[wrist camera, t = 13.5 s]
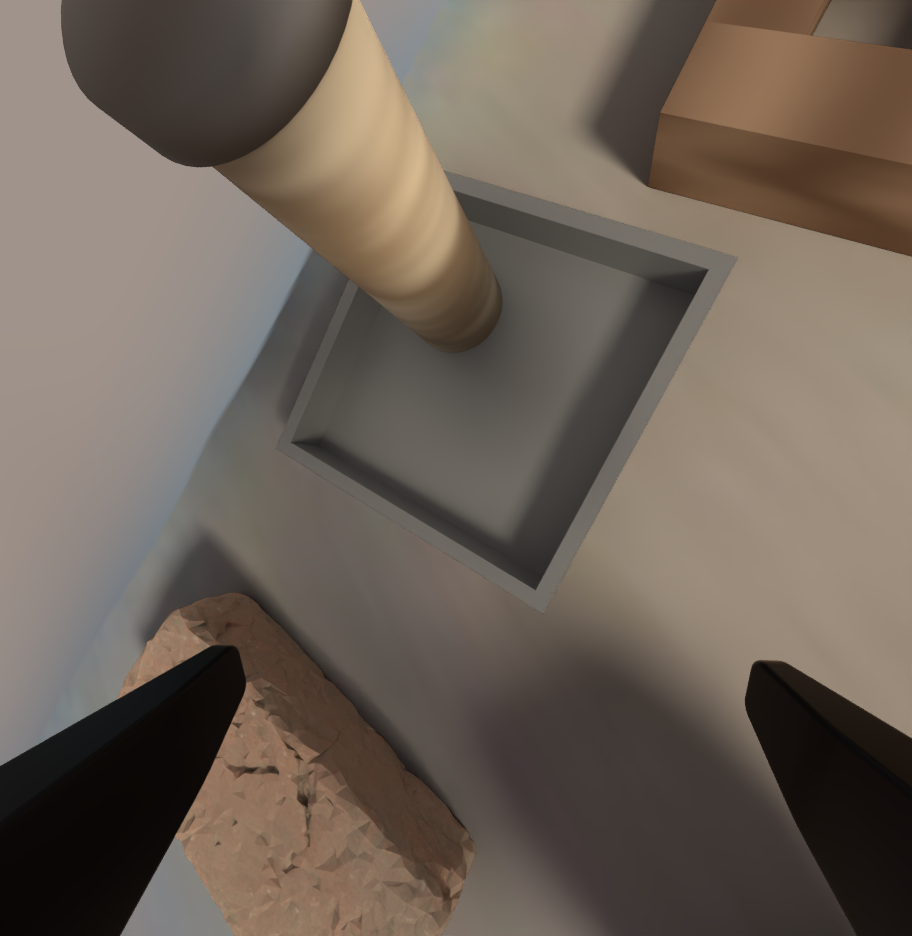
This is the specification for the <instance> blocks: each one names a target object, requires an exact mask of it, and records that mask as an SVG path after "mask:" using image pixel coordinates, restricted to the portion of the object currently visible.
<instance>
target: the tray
mask: <svg viewBox="0 0 912 936" xmlns="http://www.w3.org/2000/svg"><path fill="white" fill-rule="evenodd" d="M443 171H444V170H443ZM444 173H445V175H446V177H447V179H448V181H449V183H450V185H451V187H452V189H453V191H454V193H455V195H456V197H457V199H458V201H459V203H460V205H461V207H462V209H463V211H464V213H465V215H466V217H467V219H468V221H469V223H470V225H471V227H472V230H473V232H474V234H475V236H476V238H477V240H478V242H479V244H480V246H481V248H482V250H483V252H484V254H485V256H486V258H487V260H488V262H489V264H490V266H491V268H492V270H493V272H494V274H495V276H496V278H497V280H498V282H499V285H500V287H501V292H502V300H503V301H502V310H501V314H500V318H499V320H498V322H497V325H496V326H495V328H494V330H493V331H492V332H491V334H490V335H489V336H488V337H487V338H486V339H485V340H484V341H483V342H481V343H480V344H479V345H477V346H475V347H474V348H471V349H469V350H466V351H463V352H455V353H450V352H444V351H440V350H438V349H436V348H434V347H432V346H431V345H429V344H428V343H427V342H426V341H425V340H423V339H422V338H421V337H420V336H418V335H417V334H416V333H415V332H414V331H412V330H411V329H410V328H409V327H407V326H406V325H405V324H404V323H403V322H401V321H400V320H399V319H398V318H397V317H395V316H394V315H393V314H392V313H390V312H389V311H388V310H387V309H386V308H384V307H383V306H382V305H381V304H379V303H378V302H377V301H376V300H375V299H373V298H372V297H371V296H370V295H368V294H367V293H366V292H365V291H364V290H362V289H361V288H360V287H359V286H357V285H356V284H355V283H354V282H353V281H351V280H350V279H349V280H348V282H347V285H346V287H345V289H344V291H343V294H342V296H341V298H340V301H339V303H338V305H337V308H336V310H335V312H334V315H333V317H332V319H331V321H330V324H329V326H328V328H327V331H326V333H325V335H324V338H323V340H322V342H321V345H320V347H319V349H318V352H317V354H316V356H315V358H314V361H313V363H312V365H311V368H310V370H309V372H308V375H307V377H306V379H305V382H304V384H303V386H302V389H301V391H300V393H299V395H298V398H297V400H296V402H295V405H294V407H293V409H292V412H291V414H290V416H289V419H288V421H287V423H286V426H285V428H284V430H283V432H282V435H281V437H280V439H279V442H278V444H277V446H276V449H277V450H279V451H280V452H282V453H283V454H285V455H287V456H288V457H290V458H292V459H293V460H295V461H296V462H298V463H300V464H301V465H303V466H304V467H306V468H308V469H309V470H311V471H313V472H314V473H316V474H317V475H319V476H321V477H322V478H324V479H325V480H327V481H329V482H330V483H332V484H334V485H335V486H337V487H338V488H340V489H342V490H343V491H345V492H346V493H348V494H350V495H351V496H353V497H355V498H356V499H358V500H359V501H361V502H363V503H364V504H366V505H367V506H369V507H371V508H372V509H374V510H376V511H377V512H379V513H380V514H382V515H384V516H385V517H387V518H388V519H390V520H392V521H393V522H395V523H397V524H398V525H400V526H401V527H403V528H405V529H406V530H408V531H409V532H411V533H413V534H414V535H416V536H418V537H419V538H421V539H422V540H424V541H426V542H427V543H429V544H431V545H432V546H434V547H435V548H437V549H439V550H440V551H442V552H443V553H445V554H447V555H448V556H450V557H452V558H453V559H455V560H456V561H458V562H460V563H461V564H463V565H464V566H466V567H468V568H469V569H471V570H473V571H474V572H476V573H477V574H479V575H481V576H482V577H484V578H485V579H487V580H489V581H490V582H492V583H494V584H495V585H497V586H498V587H500V588H502V589H503V590H505V591H506V592H508V593H510V594H511V595H513V596H515V597H516V598H518V599H519V600H521V601H523V602H524V603H526V604H527V605H529V606H531V607H532V608H534V609H536V610H537V611H539V612H540V613H542V614H543V613H544V611H545V610H546V608H547V606H548V604H549V602H550V600H551V599H552V597H553V595H554V593H555V591H556V590H557V588H558V586H559V584H560V582H561V580H562V579H563V577H564V575H565V573H566V571H567V569H568V568H569V566H570V564H571V562H572V560H573V558H574V557H575V555H576V553H577V551H578V549H579V547H580V546H581V544H582V542H583V540H584V538H585V536H586V535H587V533H588V531H589V529H590V527H591V526H592V524H593V522H594V520H595V518H596V516H597V515H598V513H599V511H600V509H601V507H602V505H603V504H604V502H605V500H606V498H607V496H608V494H609V493H610V491H611V489H612V487H613V485H614V483H615V482H616V480H617V478H618V476H619V474H620V473H621V471H622V469H623V467H624V465H625V463H626V462H627V460H628V458H629V456H630V454H631V452H632V451H633V449H634V447H635V445H636V443H637V441H638V440H639V438H640V436H641V434H642V432H643V430H644V429H645V427H646V425H647V423H648V421H649V420H650V418H651V416H652V414H653V412H654V410H655V409H656V407H657V405H658V403H659V401H660V399H661V398H662V396H663V394H664V392H665V390H666V388H667V387H668V385H669V383H670V381H671V379H672V377H673V376H674V374H675V372H676V370H677V368H678V367H679V365H680V363H681V361H682V359H683V357H684V356H685V354H686V352H687V350H688V348H689V346H690V345H691V343H692V341H693V339H694V337H695V335H696V334H697V332H698V330H699V328H700V326H701V324H702V323H703V321H704V319H705V317H706V315H707V314H708V312H709V310H710V308H711V306H712V304H713V303H714V301H715V299H716V297H717V295H718V293H719V292H720V290H721V288H722V286H723V284H724V282H725V281H726V279H727V277H728V275H729V273H730V271H731V270H732V268H733V266H734V264H735V262H736V261H737V259H738V257H736V256H732V255H729V254H725V253H722V252H719V251H715V250H712V249H708V248H705V247H702V246H698V245H695V244H692V243H688V242H685V241H681V240H678V239H675V238H671V237H668V236H664V235H661V234H658V233H654V232H651V231H647V230H644V229H641V228H637V227H634V226H631V225H627V224H624V223H620V222H617V221H614V220H610V219H607V218H603V217H600V216H597V215H593V214H590V213H586V212H583V211H580V210H576V209H573V208H570V207H566V206H563V205H559V204H556V203H553V202H549V201H546V200H542V199H539V198H536V197H532V196H529V195H525V194H522V193H519V192H515V191H512V190H509V189H505V188H502V187H498V186H495V185H492V184H488V183H485V182H481V181H478V180H475V179H471V178H468V177H464V176H461V175H458V174H454V173H451V172H448V171H444Z"/></svg>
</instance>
